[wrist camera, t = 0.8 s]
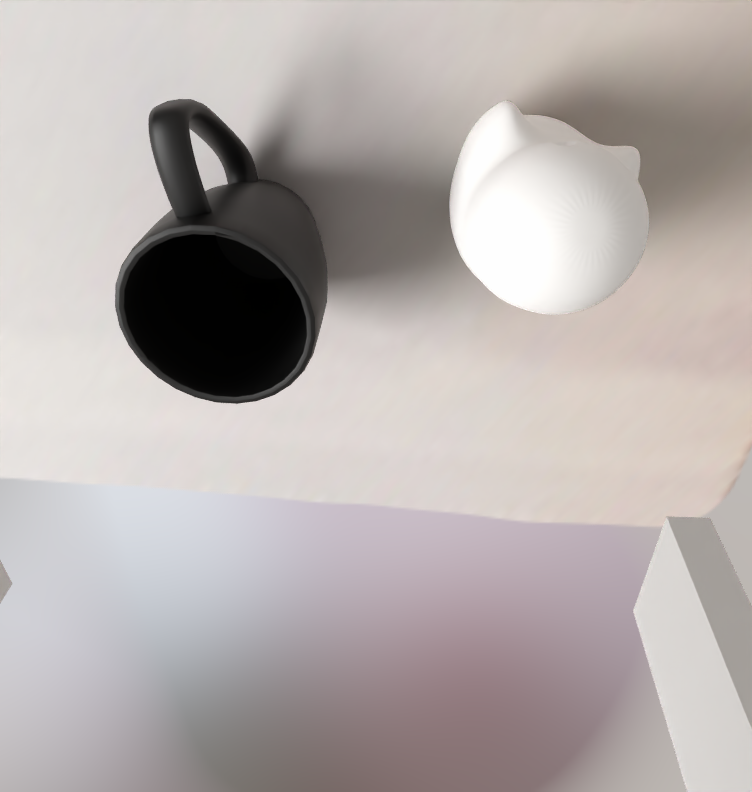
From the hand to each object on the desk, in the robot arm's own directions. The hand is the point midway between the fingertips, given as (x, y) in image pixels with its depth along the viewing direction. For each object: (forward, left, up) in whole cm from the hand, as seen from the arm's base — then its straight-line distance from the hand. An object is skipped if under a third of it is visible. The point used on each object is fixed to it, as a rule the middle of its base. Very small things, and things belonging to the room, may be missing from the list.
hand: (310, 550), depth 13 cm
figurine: (+4, +5, -24) cm, 25 cm away
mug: (-3, -6, -24) cm, 25 cm away
